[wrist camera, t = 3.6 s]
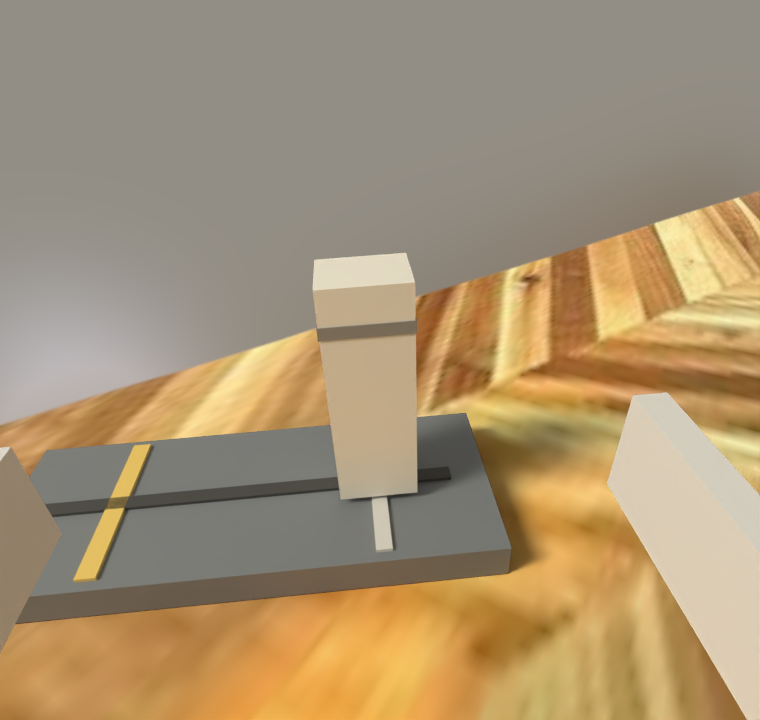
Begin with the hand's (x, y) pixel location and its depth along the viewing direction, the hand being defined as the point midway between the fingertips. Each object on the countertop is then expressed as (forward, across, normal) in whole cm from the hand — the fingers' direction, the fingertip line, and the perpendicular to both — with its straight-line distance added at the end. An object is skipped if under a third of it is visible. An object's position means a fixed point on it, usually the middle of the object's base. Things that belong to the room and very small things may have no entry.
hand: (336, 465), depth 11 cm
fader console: (+12, -6, -15) cm, 20 cm away
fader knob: (+12, +1, -12) cm, 17 cm away
